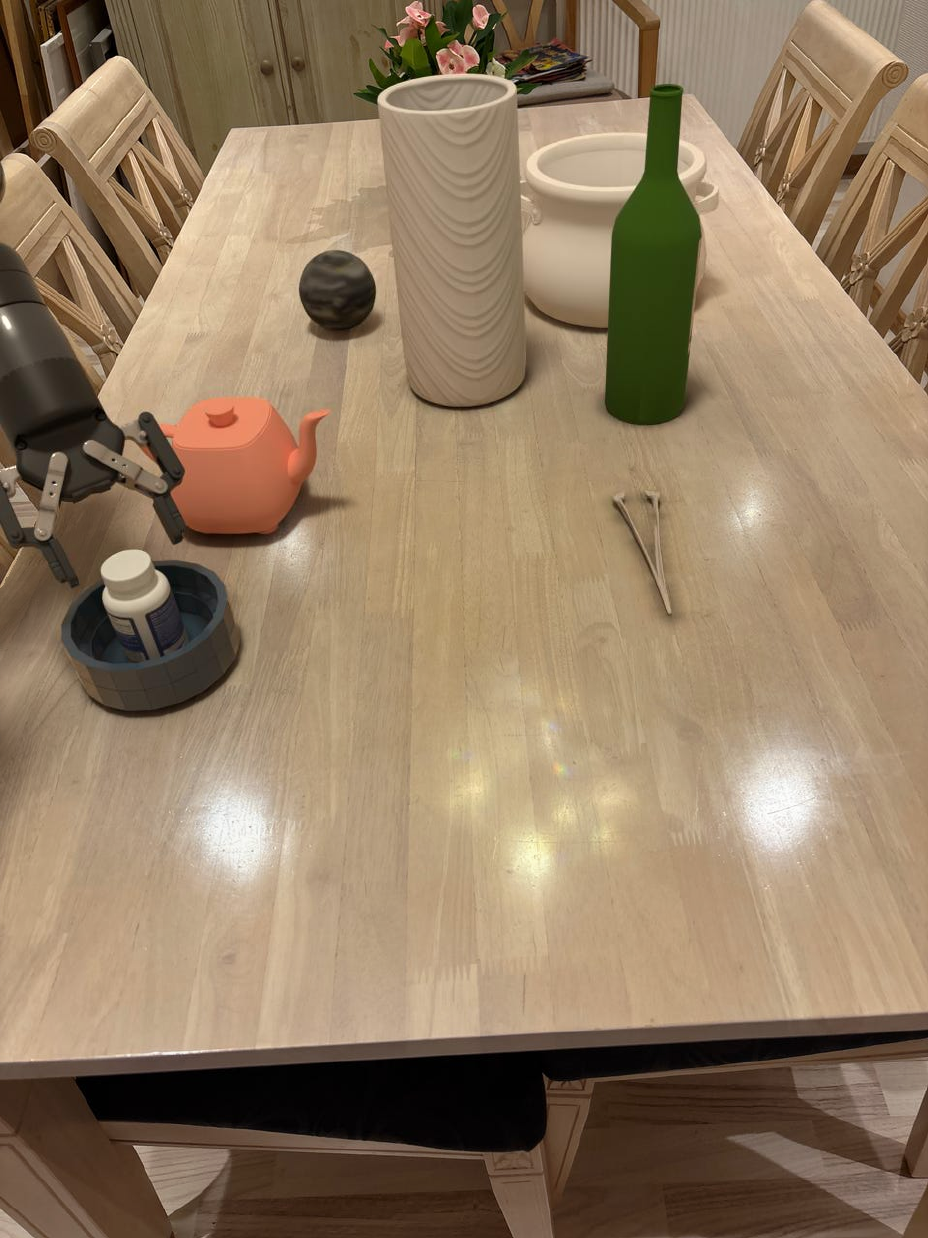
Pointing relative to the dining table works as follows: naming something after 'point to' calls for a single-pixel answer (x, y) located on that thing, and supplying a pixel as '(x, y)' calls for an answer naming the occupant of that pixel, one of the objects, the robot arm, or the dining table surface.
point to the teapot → (239, 464)
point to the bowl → (165, 676)
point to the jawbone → (659, 565)
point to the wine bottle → (653, 279)
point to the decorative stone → (337, 290)
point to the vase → (456, 234)
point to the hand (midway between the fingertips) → (128, 562)
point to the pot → (589, 218)
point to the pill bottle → (141, 607)
